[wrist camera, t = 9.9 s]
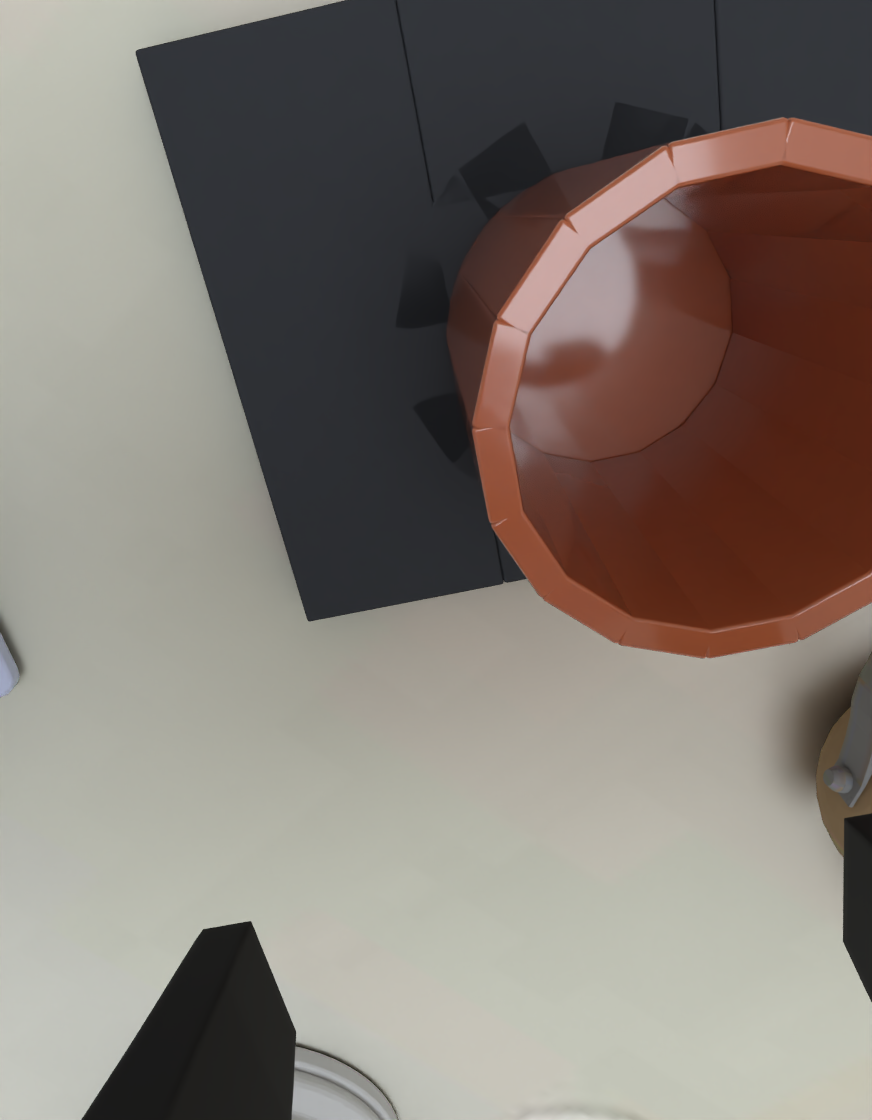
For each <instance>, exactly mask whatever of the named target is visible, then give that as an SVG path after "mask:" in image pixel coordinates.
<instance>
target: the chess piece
mask: <svg viewBox="0 0 872 1120" xmlns="http://www.w3.org/2000/svg"><path fill="white" fill-rule="evenodd" d="M291 1120H398V1119H397V1116H396V1114H395V1112H394V1110H393V1108H392V1106H391V1104H390V1103H389V1101H388V1100H387V1099H386V1097H385V1096H384V1095H383V1094H382V1092H381V1091H380V1090H379V1089H378V1088H377V1087H376V1086H375V1085H374V1084H373V1083H372V1082H370V1081H369V1080H368V1079H367V1078H366V1077H364V1076H363V1075H361V1074H360V1073H359V1072H357V1071H356V1070H354V1069H352V1068H351V1067H349V1066H347V1065H345V1064H343V1063H342V1062H339V1061H337V1060H335V1059H333V1058H331V1057H328V1056H326V1055H323V1054H321V1053H318V1052H315V1051H311V1050H308V1049H305V1048H301V1047H297V1046H295V1068H294V1088H293V1104H292V1119H291Z"/></svg>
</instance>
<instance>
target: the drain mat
mask: <svg viewBox="0 0 872 1120" xmlns="http://www.w3.org/2000/svg"><path fill="white" fill-rule="evenodd" d="M136 56H137V60H138V63H139V66H140V70H141V73H142V76H143V80H144V83H145V86H146V89H147V93H148V96H149V99H150V103H151V106H152V109H153V112H154V116H155V119H156V122H157V126H158V129H159V132H160V136H161V139H162V142H163V145H164V149H165V152H166V155H167V159H168V162H169V165H170V168H171V172H172V175H173V178H174V182H175V185H176V188H177V192H178V195H179V198H180V201H181V205H182V208H183V211H184V215H185V218H186V221H187V224H188V228H189V231H190V234H191V238H192V241H193V244H194V248H195V251H196V254H197V257H198V261H199V264H200V267H201V271H202V274H203V277H204V280H205V284H206V287H207V290H208V294H209V297H210V300H211V304H212V307H213V310H214V313H215V317H216V320H217V323H218V327H219V330H220V333H221V336H222V340H223V343H224V346H225V350H226V353H227V356H228V360H229V363H230V366H231V369H232V373H233V376H234V379H235V383H236V386H237V389H238V392H239V396H240V399H241V402H242V406H243V409H244V412H245V416H246V419H247V422H248V425H249V429H250V432H251V435H252V439H253V442H254V445H255V448H256V452H257V455H258V458H259V462H260V465H261V468H262V472H263V475H264V478H265V481H266V485H267V488H268V491H269V495H270V498H271V501H272V504H273V508H274V511H275V514H276V518H277V521H278V524H279V528H280V531H281V534H282V537H283V541H284V544H285V547H286V551H287V554H288V557H289V560H290V564H291V567H292V570H293V574H294V577H295V580H296V584H297V587H298V590H299V593H300V597H301V600H302V603H303V607H304V610H305V613H306V616H307V620H308V621H314V620H319V619H325V618H330V617H335V616H340V615H345V614H350V613H356V612H361V611H366V610H371V609H376V608H381V607H386V606H392V605H397V604H402V603H407V602H412V601H417V600H423V599H428V598H433V597H438V596H443V595H448V594H453V593H459V592H464V591H469V590H474V589H479V588H484V587H489V586H495V585H500V584H503V582H504V581H505V582H513V581H518V580H523V579H527V578H526V577H525V575H524V574H523V572H522V571H521V569H520V568H519V566H518V565H517V564H516V562H515V561H514V559H513V558H512V556H511V555H510V554H509V552H508V551H507V549H506V548H505V546H504V545H503V543H502V542H501V541H500V539H499V538H498V536H497V535H496V533H495V532H494V531H493V529H492V527H491V523H490V522H489V520H488V517H487V513H486V509H485V505H484V500H483V496H482V492H481V488H480V484H479V480H478V476H477V472H476V468H475V464H474V460H473V456H472V452H471V448H470V444H469V440H468V436H467V432H466V428H465V424H464V420H463V416H462V412H461V408H460V404H459V400H458V396H457V392H456V386H455V381H454V376H453V371H452V366H451V362H450V356H449V350H448V345H447V340H446V335H447V334H446V330H447V325H448V313H449V305H450V299H451V295H452V291H453V287H454V283H455V280H456V277H457V274H458V272H459V269H460V267H461V265H462V262H463V260H464V258H465V256H466V254H467V253H468V251H469V249H470V247H471V245H472V243H473V242H474V240H475V239H476V237H477V236H478V235H479V233H480V232H481V231H482V229H483V228H484V226H485V225H486V224H487V223H488V222H489V221H490V220H491V218H492V217H493V216H494V215H495V214H496V212H498V211H499V210H500V209H501V208H502V207H503V206H505V205H506V204H507V203H508V202H509V201H511V200H512V199H513V198H514V197H516V196H517V195H518V194H520V193H521V192H523V191H525V190H526V189H528V188H529V187H531V186H533V185H534V184H536V183H538V182H539V181H541V180H542V179H544V178H545V177H546V176H549V175H551V174H553V173H557V172H560V171H564V170H568V169H572V168H575V167H579V166H583V165H587V164H590V163H594V162H598V161H601V160H605V159H609V158H613V157H616V156H620V155H624V154H628V153H631V152H635V151H639V150H643V149H646V148H650V147H654V146H658V145H661V144H665V143H669V142H673V141H677V140H682V139H686V138H691V137H695V136H700V135H704V134H709V133H713V132H718V131H722V130H727V129H731V128H736V127H740V126H745V125H749V124H754V123H758V122H763V121H767V120H772V119H776V118H781V117H785V118H791V117H795V118H800V119H804V120H808V121H812V122H816V123H821V124H825V125H829V126H833V127H838V128H842V129H846V130H850V131H854V132H859V133H863V134H867V135H871V136H872V0H345V1H341V2H337V3H333V4H328V5H324V6H320V7H316V8H312V9H307V10H303V11H299V12H295V13H290V14H286V15H282V16H278V17H274V18H269V19H265V20H261V21H257V22H253V23H248V24H244V25H240V26H236V27H231V28H227V29H223V30H219V31H215V32H210V33H206V34H202V35H198V36H194V37H189V38H185V39H181V40H177V41H173V42H168V43H164V44H160V45H156V46H151V47H147V48H143V49H139V50H137V51H136ZM503 580H504V581H503Z"/></svg>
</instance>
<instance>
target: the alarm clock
mask: <svg viewBox="0 0 872 1120" xmlns="http://www.w3.org/2000/svg"><path fill="white" fill-rule="evenodd" d="M816 788H817V799H818V803H819V807H820V812H821V816H822V820H823V823H824V825H825V827H826V829H827V831H828V833H829V835H830V837H831V839H832V841H833V843H834V845H835V846H836V848H837V850H838V851H839V853H840V854H841V855H842V856H843V857H844V818H848V817H853V816H859V815H865V814H871V813H872V653H871V654H870V656H869V658H868V660H867V662H866V664H865V665H864V667H863V669H862V671H861V673H860V675H859V677H858V680H857V683H856V687H855V690H854V693H853V696H852V701H851V707H850V708H849V709H848V710H847V711H845V713H844V714H843V715H842V716H841V717H840V719H839V720H838V721H837V722H836V723H835V724H834V726H833V727H832V728H831V730H830V732H829V734H828V736H827V739H826V741H825V743H824V745H823V747H822V749H821V752H820V757H819V762H818V766H817V771H816Z"/></svg>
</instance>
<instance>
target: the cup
mask: <svg viewBox="0 0 872 1120" xmlns="http://www.w3.org/2000/svg"><path fill="white" fill-rule="evenodd" d="M446 334H447V335H446V340H447V345H448V350H449V356H450V362H451V366H452V371H453V376H454V381H455V386H456V392H457V396H458V400H459V404H460V408H461V412H462V416H463V420H464V424H465V428H466V432H467V436H468V440H469V444H470V448H471V452H472V456H473V460H474V464H475V468H476V472H477V476H478V480H479V484H480V488H481V492H482V496H483V500H484V505H485V509H486V513H487V517H488V520H489V522H490V523H491V527H492V529H493V531H494V532H495V533H496V535H497V536H498V538H499V539H500V541H501V542H502V543H503V545H504V546H505V548H506V549H507V551H508V552H509V554H510V555H511V556H512V558H513V559H514V561H515V562H516V564H517V565H518V566H519V568H520V569H521V571H522V572H523V574H524V575H525V577H526V578H527V579H528V581H529V582H530V584H531V585H532V587H533V588H534V589H535V591H536V592H537V594H538V595H539V596H540V597H542V598H543V599H544V601H546V602H547V603H549V604H551V605H552V606H554V607H556V608H557V609H559V610H561V611H562V612H564V613H565V614H567V615H569V616H570V617H572V618H574V619H575V620H577V621H579V622H580V623H582V624H584V625H585V626H587V627H589V628H590V629H592V630H594V631H595V632H597V633H599V634H600V635H602V636H603V637H605V638H607V639H608V640H610V641H612V642H614V643H618V644H619V645H622V646H628V647H635V648H641V649H647V650H653V651H660V652H666V653H672V654H678V655H684V656H691V657H697V658H705V657H707V658H715V657H720V656H725V655H731V654H736V653H741V652H747V651H752V650H757V649H763V648H768V647H774V646H779V645H784V644H790V643H795V642H797V641H798V639H799V640H804V639H805V638H807V637H809V636H811V635H813V634H815V633H816V632H818V631H820V630H822V629H824V628H826V627H828V626H829V625H831V624H833V623H835V622H837V621H839V620H840V619H842V618H844V617H846V616H848V615H850V614H851V613H853V612H855V611H857V610H859V609H861V608H863V607H864V606H866V605H868V604H870V603H872V136H871V135H867V134H863V133H859V132H854V131H850V130H846V129H842V128H838V127H833V126H829V125H825V124H821V123H816V122H812V121H808V120H804V119H800V118H795V117H791V118H785V117H781V118H776V119H772V120H767V121H763V122H758V123H754V124H749V125H745V126H740V127H736V128H731V129H727V130H722V131H718V132H713V133H709V134H704V135H700V136H695V137H691V138H686V139H682V140H677V141H673V142H669V143H665V144H661V145H658V146H654V147H650V148H646V149H643V150H639V151H635V152H631V153H628V154H624V155H620V156H616V157H613V158H609V159H605V160H601V161H598V162H594V163H590V164H587V165H583V166H579V167H575V168H572V169H568V170H564V171H560V172H557V173H553V174H551V175H549V176H546V177H545V178H544V179H542V180H541V181H539V182H538V183H536V184H534V185H533V186H531V187H529V188H528V189H526V190H525V191H523V192H521V193H520V194H518V195H517V196H516V197H514V198H513V199H512V200H511V201H509V202H508V203H507V204H506V205H505V206H503V207H502V208H501V209H500V210H499V211H498V212H496V214H495V215H494V216H493V217H492V218H491V220H490V221H489V222H488V223H487V224H486V225H485V226H484V228H483V229H482V231H481V232H480V233H479V235H478V236H477V237H476V239H475V240H474V242H473V243H472V245H471V247H470V249H469V251H468V253H467V254H466V256H465V258H464V260H463V262H462V265H461V267H460V269H459V272H458V274H457V277H456V280H455V283H454V287H453V291H452V295H451V299H450V305H449V313H448V325H447V330H446Z"/></svg>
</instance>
